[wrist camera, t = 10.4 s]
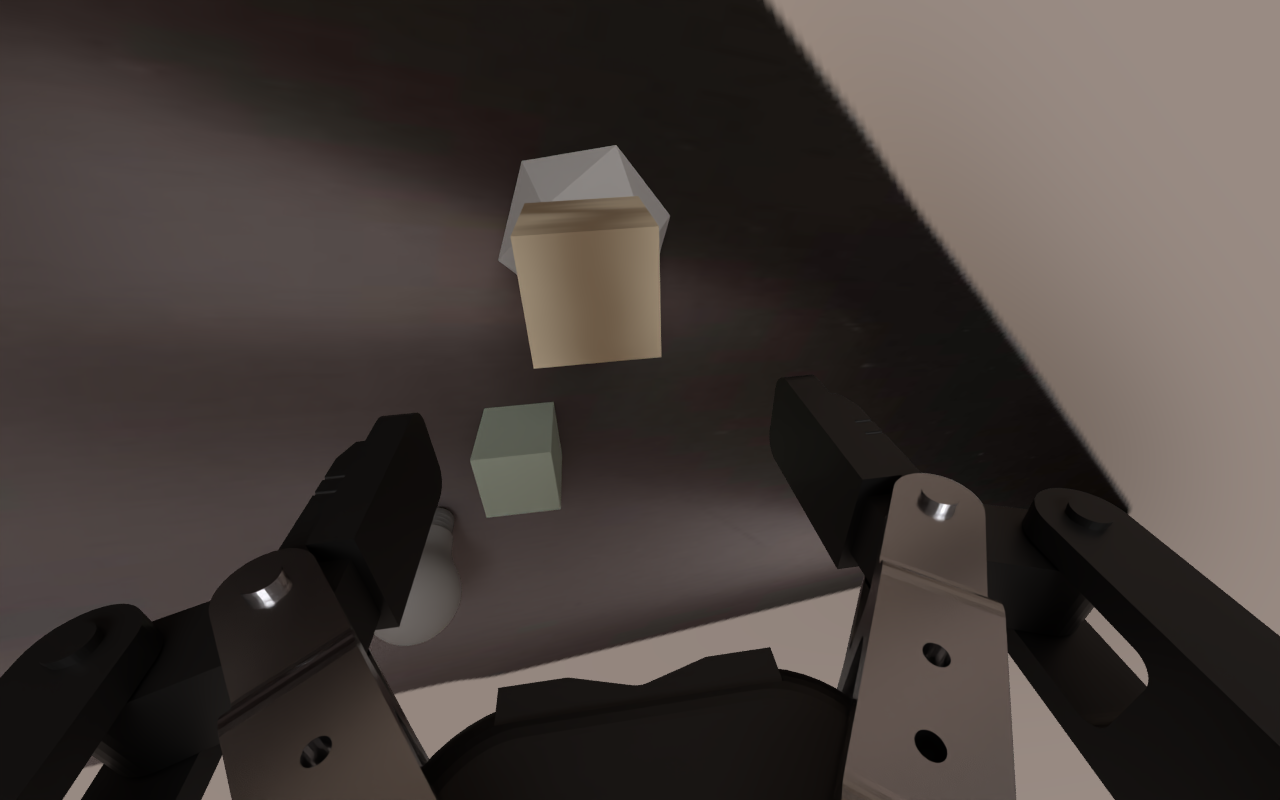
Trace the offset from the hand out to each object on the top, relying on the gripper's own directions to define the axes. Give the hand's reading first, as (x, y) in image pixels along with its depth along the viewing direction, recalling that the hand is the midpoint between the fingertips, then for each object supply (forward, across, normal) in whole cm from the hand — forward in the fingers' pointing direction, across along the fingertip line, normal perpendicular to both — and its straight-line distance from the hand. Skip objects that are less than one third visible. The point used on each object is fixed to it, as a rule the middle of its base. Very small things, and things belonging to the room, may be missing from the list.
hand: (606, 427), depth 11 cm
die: (+22, 0, 0) cm, 22 cm away
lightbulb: (+22, +14, +22) cm, 34 cm away
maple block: (+14, 0, 0) cm, 14 cm away
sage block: (+22, +6, +15) cm, 27 cm away
